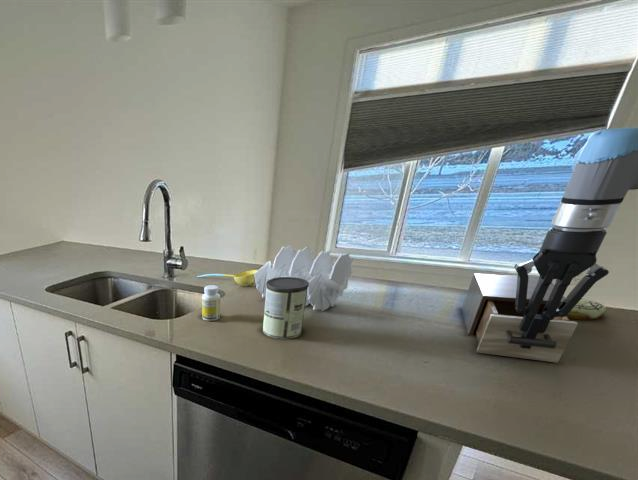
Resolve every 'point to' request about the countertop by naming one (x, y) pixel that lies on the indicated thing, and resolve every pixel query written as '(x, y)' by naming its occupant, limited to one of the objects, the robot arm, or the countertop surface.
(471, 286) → the cabinet
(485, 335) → the drawer
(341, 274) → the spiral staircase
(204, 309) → the supplement bottle
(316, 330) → the countertop surface
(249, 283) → the ladle
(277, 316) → the coffee can
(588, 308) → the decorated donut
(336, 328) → the countertop surface
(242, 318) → the countertop surface
